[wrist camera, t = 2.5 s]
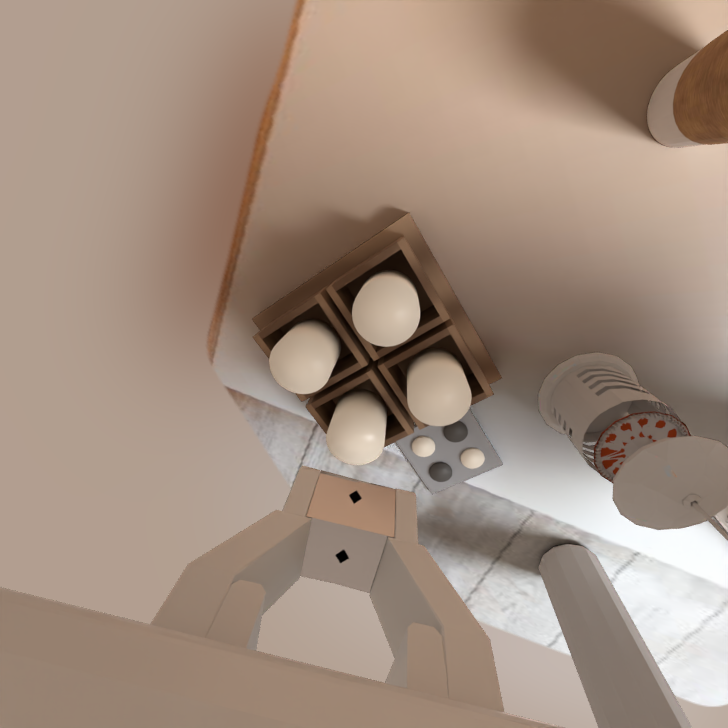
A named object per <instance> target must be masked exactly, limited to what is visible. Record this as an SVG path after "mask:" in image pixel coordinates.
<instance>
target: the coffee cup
mask: <svg viewBox="0 0 728 728" xmlns="http://www.w3.org/2000/svg"><path fill="white" fill-rule="evenodd" d="M647 123H648V127H649V130H650V132H651V134H652V136H653V137H654V138H655V139H656V140H657V141H658V142H659V143H661V144H662V145H665V146H668V147H674V148H681V147H690V146H698V145H705V144H708V145H711V144H723V143H728V30H727V31H726V32H724V33H723V34H721V35H720V36H719V37H717V38H716V39H714V40H713V41H711V42H710V43H709V44H708V45H706V46H705V47H704V48H702V49H701V50H699V51H698V52H696V53H695V54H693V55H692V56H690V57H689V58H687V59H686V60H684V61H683V62H681V63H680V64H678V65H677V66H676V67H675V68H673V69H672V70H671V71H670V72H668V73H667V74H666V75H665V76H664V77H663V79H662V80H661V81H660V82H659V84H658V85H657V87H656V88H655V90H654V92H653V94H652V96H651V99H650V102H649V105H648V110H647Z"/></svg>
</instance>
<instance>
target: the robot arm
mask: <svg viewBox="0 0 728 728" xmlns="http://www.w3.org/2000/svg"><path fill="white" fill-rule="evenodd" d="M715 518H716V519H717V520H718V521H719V522H720V524H721V525H722V526H723V527H724V529H725V530H726V531H727V532H728V506H727V507H726V508H725V509H723V510H722V511H720V512H719V513H717V514H716V515H715ZM300 576H302V577H307V578H311V579H316V580H321V581H325V582H330V583H335V584H339V585H342V586H346V587H349V588H353V589H357V590H360V591H364V592H367V593H370V598H371V600H372V603H373V605H374V608H375V610H376V613H377V615H378V618H379V620H380V623H381V625H382V628H383V630H384V633H385V636H386V638H387V641H388V643H389V646H390V648H391V651H392V653H393V656H394V658H395V660H394V662H393V664H392V667H391V669H390V672H389V674H388V677H387V679H386V681H385V683H383V682H379V681H375V680H371V679H367V678H363V677H359V676H355V675H351V674H347V673H343V672H339V671H335V670H331V669H327V668H323V667H319V666H315V665H311V664H306V663H303V662H299V661H295V660H291V659H287V658H283V657H279V656H275V655H271V654H267V653H263V652H259V651H256V649H257V643H258V637H259V631H260V625H261V618H262V615H263V614H264V613H265V612H266V611H267V610H268V609H269V608H270V607H271V606H272V605H273V604H274V603H275V602H276V601H277V600H278V599H279V598H280V597H281V596H282V595H283V594H284V593H285V592H286V591H287V590H288V589H289V588H290V587H291V586H292V585H293V584H294V583H295V582H296V581H297V580H298V579H299V578H300ZM0 728H565V727H561V726H557V725H553V724H549V723H545V722H541V721H537V720H533V719H529V718H525V717H520V716H517V715H513V714H509V713H505V712H504V708H503V702H502V697H501V693H500V688H499V682H498V677H497V673H496V667H495V662H494V657H493V652H492V647H491V642H490V639H489V637H488V636H487V635H486V633H485V632H484V630H483V629H482V628H481V626H480V625H479V623H478V622H477V620H476V619H475V618H474V616H473V615H472V613H471V612H470V610H469V609H468V608H467V606H466V605H465V603H464V602H463V600H462V599H461V598H460V596H459V595H458V593H457V592H456V590H455V589H454V588H453V586H452V585H451V583H450V582H449V581H448V579H447V578H446V576H445V575H444V573H443V572H442V571H441V569H440V568H439V566H438V565H437V563H436V562H435V561H434V559H433V558H432V556H431V555H430V553H429V552H428V551H427V549H426V548H425V546H423V545H419V544H418V529H417V507H416V495H415V493H414V492H409V491H405V490H400V489H393V488H389V487H385V486H380V485H376V484H372V483H368V482H363V481H359V480H356V479H352V478H348V477H344V476H341V475H337V474H333V473H329V472H326V471H322V470H321V471H320V470H317V469H313V468H309V467H306V466H302V467H301V468H300V469H299V471H298V474H297V476H296V479H295V481H294V484H293V486H292V488H291V491H290V493H289V496H288V498H287V501H286V503H285V505H284V508H283V510H282V511H279V510H275V511H274V512H272V513H270V514H269V515H267V516H265V517H264V518H262V519H260V520H259V521H257V522H256V523H254V524H252V525H251V526H249V527H248V528H246V529H244V530H243V531H241V532H239V533H238V534H236V535H235V536H233V537H231V538H230V539H228V540H226V541H225V542H223V543H221V544H220V545H218V546H217V547H215V548H213V549H212V550H210V551H209V552H207V553H205V554H204V555H202V556H200V557H199V558H197V559H195V560H194V561H193V562H191V563H189V564H188V565H187V566H186V568H185V570H184V571H183V573H182V574H181V576H180V578H179V579H178V581H177V582H176V584H175V585H174V587H173V589H172V590H171V592H170V594H169V595H168V597H167V599H166V600H165V602H164V603H163V605H162V606H161V608H160V610H159V611H158V613H157V614H156V616H155V617H154V619H153V621H152V622H151V624H147V623H143V622H139V621H135V620H131V619H127V618H123V617H119V616H114V615H111V614H107V613H103V612H99V611H95V610H90V609H87V608H83V607H79V606H74V605H70V604H66V603H62V602H58V601H54V600H50V599H46V598H42V597H38V596H34V595H30V594H26V593H22V592H18V591H14V590H10V589H6V588H2V587H0Z"/></svg>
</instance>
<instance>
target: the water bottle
mask: <svg viewBox="0 0 728 728" xmlns="http://www.w3.org/2000/svg"><path fill="white" fill-rule="evenodd" d="M538 568H539V571H540V574H541V576H542V579H543V582H544V584H545V587H546V590H547V592H548V595H549V597H550V600H551V603H552V605H553V608H554V611H555V613H556V616H557V619H558V621H559V624H560V627H561V629H562V632H563V635H564V637H565V640H566V643H567V645H568V648H569V650H570V653H571V656H572V658H573V661H574V664H575V666H576V669H577V672H578V674H579V677H580V680H581V682H582V685H583V688H584V690H585V693H586V695H587V698H588V701H589V703H590V705H591V709H592V711H593V714H594V716H595V719H596V722H597V724H598V727H599V728H692V726H691V724H690V722H689V721H688V719H687V717H686V715H685V713H684V712H683V710H682V708H681V706H680V705H679V703H678V701H677V699H676V697H675V696H674V694H673V692H672V690H671V688H670V687H669V685H668V683H667V681H666V680H665V678H664V676H663V674H662V672H661V671H660V669H659V667H658V665H657V663H656V662H655V660H654V658H653V656H652V655H651V653H650V651H649V649H648V647H647V646H646V644H645V642H644V640H643V638H642V637H641V635H640V633H639V631H638V630H637V628H636V626H635V624H634V622H633V621H632V619H631V617H630V615H629V613H628V612H627V610H626V608H625V606H624V605H623V603H622V601H621V599H620V597H619V596H618V594H617V592H616V590H615V588H614V587H613V585H612V583H611V581H610V579H609V578H608V576H607V574H606V572H605V571H604V569H603V567H602V565H601V563H600V562H599V560H598V558H597V556H596V555H595V554H594V553H592V552H591V551H589V550H588V549H586V548H585V547H583V546H579V545H572V544H565V545H560V546H556V547H553V548H552V549H550V550H549V551H548V552H546V553H545V554H544V555H543V557H542V559H541V562H540V564H539V567H538Z"/></svg>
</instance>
